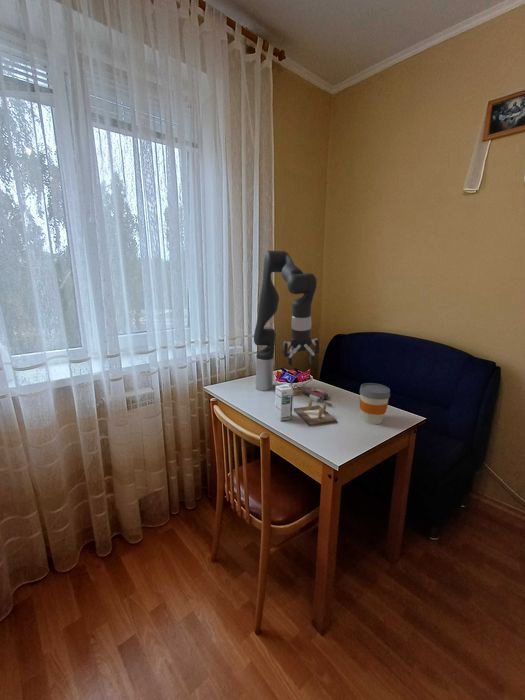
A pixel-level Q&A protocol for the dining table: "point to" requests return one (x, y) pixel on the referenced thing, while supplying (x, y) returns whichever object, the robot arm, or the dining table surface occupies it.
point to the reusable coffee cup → (373, 402)
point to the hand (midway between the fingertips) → (300, 364)
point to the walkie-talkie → (316, 395)
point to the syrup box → (283, 402)
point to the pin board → (315, 414)
